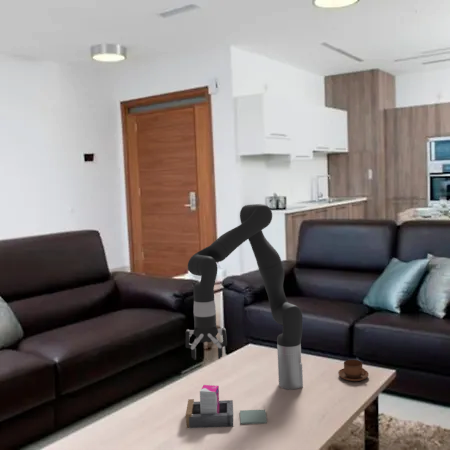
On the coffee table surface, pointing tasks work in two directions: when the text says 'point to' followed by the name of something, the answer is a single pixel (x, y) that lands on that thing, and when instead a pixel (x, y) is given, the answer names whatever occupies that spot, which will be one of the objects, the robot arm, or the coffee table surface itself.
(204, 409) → the supplement box
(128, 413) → the coffee table surface
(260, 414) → the rubber pad
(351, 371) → the cup and saucer
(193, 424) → the grey wooden frame
